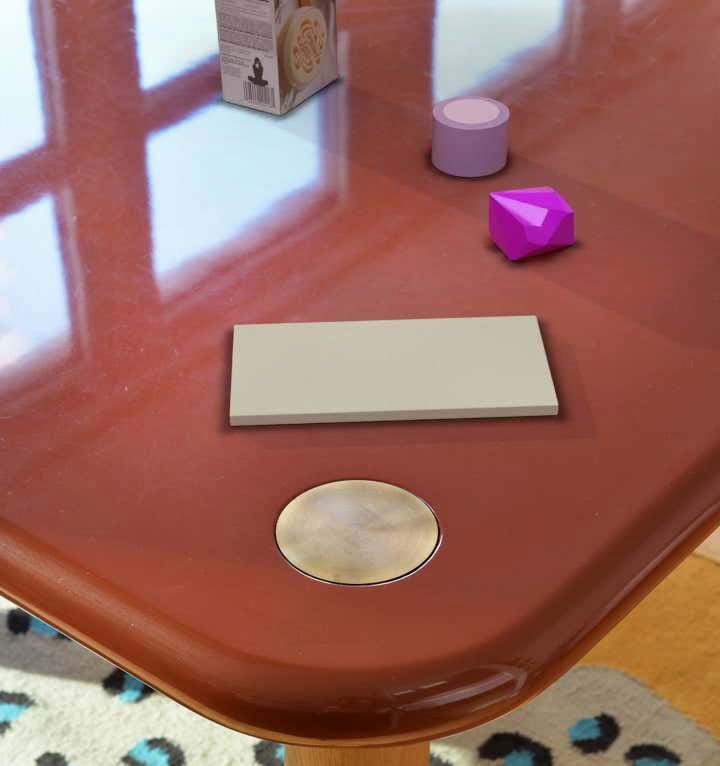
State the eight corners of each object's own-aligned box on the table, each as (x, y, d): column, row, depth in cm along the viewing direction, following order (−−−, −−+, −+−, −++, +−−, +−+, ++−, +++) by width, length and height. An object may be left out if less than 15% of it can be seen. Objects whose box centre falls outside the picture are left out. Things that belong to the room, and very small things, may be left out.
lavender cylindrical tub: (501, 141, 111) (505, 93, 108) (511, 176, 106) (514, 127, 103) (428, 143, 110) (429, 95, 108) (434, 178, 106) (435, 129, 103)
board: (535, 325, 91) (536, 315, 90) (557, 415, 83) (558, 404, 83) (234, 334, 90) (234, 324, 90) (230, 426, 83) (229, 415, 82)
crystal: (537, 274, 95) (542, 215, 92) (476, 248, 98) (479, 190, 95) (579, 246, 98) (586, 187, 95) (519, 222, 101) (523, 164, 98)
